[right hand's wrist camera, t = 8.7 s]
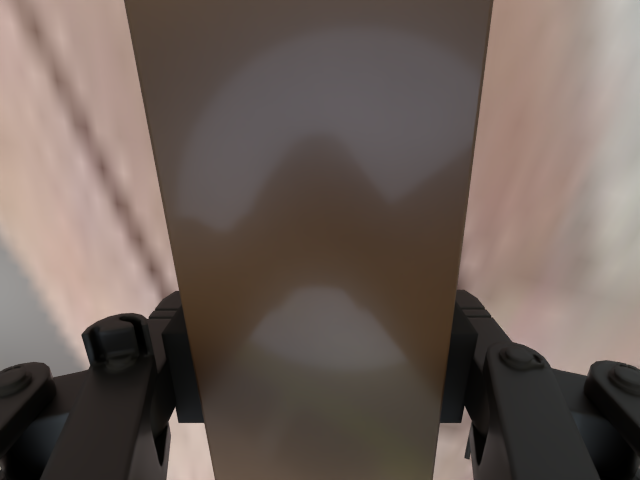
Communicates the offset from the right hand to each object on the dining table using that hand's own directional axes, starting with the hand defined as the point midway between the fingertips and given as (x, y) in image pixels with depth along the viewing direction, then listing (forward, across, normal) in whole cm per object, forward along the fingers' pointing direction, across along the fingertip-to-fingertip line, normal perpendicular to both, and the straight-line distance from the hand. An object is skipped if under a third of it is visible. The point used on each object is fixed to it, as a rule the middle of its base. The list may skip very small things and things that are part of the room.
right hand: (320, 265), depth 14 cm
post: (+1, 0, -19) cm, 19 cm away
